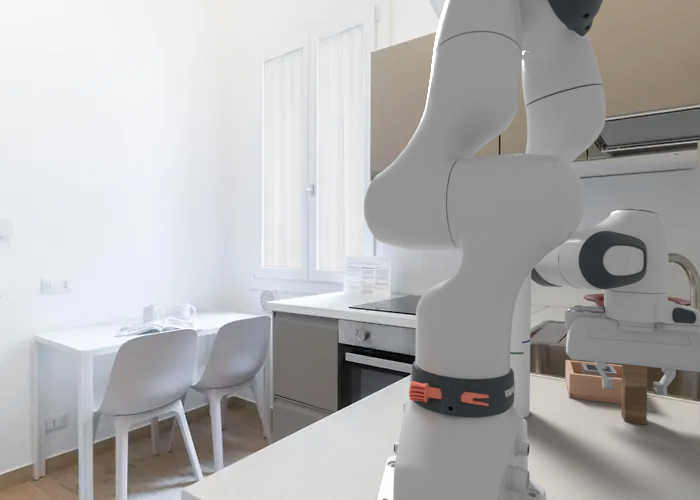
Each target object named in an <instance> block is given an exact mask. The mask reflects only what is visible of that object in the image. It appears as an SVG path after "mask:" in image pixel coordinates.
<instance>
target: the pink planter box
mask: <svg viewBox="0 0 700 500" xmlns="http://www.w3.org/2000/svg"><path fill="white" fill-rule="evenodd" d="M602 370H603V371H604V373H605V375H606V376H607V377H612V378H613V380H614V384H613V386H614V389H613V390H611V389H603V387H602V376H601V375H600V373H599V371H598V370H597V368H596V366H595V362H593V361H583V360H573V359H571V360H569V359H565V379H564V380H565V385H566V389H567V394H568V397H569V398H571V399H576V400H577V399H579V400H586V401H593V402H594V401H595V402H601V403H609V404H617V405H618V404H619V405H622V364H614V363H606V369H603V368H602Z"/></svg>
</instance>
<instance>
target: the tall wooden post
mask: <svg viewBox="0 0 700 500" xmlns="http://www.w3.org/2000/svg"><path fill="white" fill-rule="evenodd" d="M621 365H622V404H621V409H620V410H621V417H622V419H623V421H624V422H625V423H631V424H639V425H645V426H646V425H647V420H648V419H647V414H648V412H647V411H648V410H647V409H648V402H647V401H648V367H647V366H638V365H627V364H626V365H625V364H621Z"/></svg>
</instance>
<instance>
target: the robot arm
mask: <svg viewBox="0 0 700 500" xmlns="http://www.w3.org/2000/svg"><path fill="white" fill-rule="evenodd" d="M603 2H604V1H603V0H446V1H445V3H444V6H443V8H442V12H441V15H440V19H439V22H438V27H437V30H436V35H435V41H434V46H433V54H432V60H431V61H432V63H431V71H430V78H429V85H428V92H427V97H426V102H425V107H424V110H423V114H422V117H421V119H420V122H419V123H418V125H417V128H416V130H415V132H414V133H413V135H412V137H411V138H410V139H409V142H408V143H407V144H406V145H405V148H404V149H403V150H402V151H401V153H400V154H399V155H398V156H397V157H396V158H395V160H394V161H393V162H391V164H389V165H388V166H387V167H386V168H385V169H384V170H382V171H381V172H379V173H378V174H377V175H375V176H374V178H373V179H372V180H371V182H370V184H369V186H368V187H367V190H366V193H365V196H364V202H363V214H364V217H365V218H364V219H365V223H366V225H367V227H368V230H369V231H370V233H371V234H372V235H373V237H374V238H375V239H376V240H377V241H378V242H380V243H381V244H386V245H390V246H393V247H397V248H401V249H406V250H412V251H460V252H462V260H461V265H460V267H459V269H458V271H457V272H456V274H455V275H454V276H452V277H449V278H447V279H445V280H443V281H440V282H439V283H437V284H435V285H433V286H431V287H430V288H429V289H427V290H426V291H425V292H424V293H423V294H422V295H421V297H420V298H419V300H418V302H417V305H416V307H415V360H414V361H413V362H412V366H411V372H410V377H409V383H410V384H409V388H408V390H409V391H408V394H409V395H408V397H409V399H407V400H406V401H404V402H403V404H402V405H403V408H402V409H403V414H402V415H403V416H402V422H401V425H400V426H401V427H400V433H399V438H398V441H396V442H395V443H394V444H393V452H394V455H389V456H388V457H387V458H386V459H385V463H384V467H383V471H382V476H381V479H380V483H379V487H378V490H377V495H376V500H547V494H546V489H545V488H544V486H542V485H541V484H539V483H537V482H536V481H534V480H533V479H532V480H531V478H530V477H531V476H530V471H529V467H528V466H529V465H528V463H529V458H528V457H529V455H530V443H529V442H528V422H527V420H526V419H524V418H523V417H522V416H521V415H520V414H519V413H518V412H517V411H516V410H515V408H514V406H513V403H514V391H515V380H514V371H513V370H512V369H511V368H510V349H511V333H512V322H513V313H514V307H515V303H516V300H517V296H518V294H519V291H520V289H521V287H522V285H523V283H524V281H525V279H526V278H527V276H528V275H529V274H530V272H531V281H533V282H534V283H536V284H538V285H540V286H542V287H551V288H553V287H554V288H556V287H558V288H560V287H562V288H563V287H565V288H573V289H579V290H580V289H581V290H582V289H583V290H584V289H586V290H594V291H603V306H600V305H591V306H590V305H589V306H587V305H579V304H578V305H577V304H576V305H574V306H573V307H570V308H568V309H567V310H566V311H565V313H564V326H565V328H566V329H567V334H566V342H565V352H566V355H567V356H568V357H569V358H570V359H571V360H572V361H582V362H592V363H595V366H596V368H597V370H598V371H599V373H600V375H601V376H602V387H603V389H611V390H613V389H614V386H613V384H614V380H613V378H612V377H607V376H606V375H605V373H604V371H603V370H602V368H603V369H606V364H613V365H622V364H625V365H626V364H627V365H638V366H647V368H648V367H649V368H656V369H657V368H659V369H661V372H662V373H663V376H662V377H661V378H660V380H659V381H653V382H652V383H653V388H652V389H653V394H655V395H656V396H662V397H666V396H668V386H669V385H670V384H671V383H672V381H674V379H675V377H676V376H677V370H679V371H686V372H687V371H689V372H698V373H700V310H698V309H696V308H693V307H692V306H688V305H684V304H682V303H681V302H678V301H674V300H673V301H671V300H669V299H668V297H669V292H668V291H669V290H668V286H667V284H666V283H667V282H666V272H667V269H668V266H669V238H668V232H667V231H668V230H667V226H666V223H665V221H664V218H663V216H662V215H660V214H658V213H656V212H654V211H650V210H646V209H635V208H623V209H622V208H621V209H617V210H613V211H611V212H610V214H609V216H608V217H607V218H605V219H604V220H603V221H601V222H599V223H597V224H595V225H592V226H590V227H587V229H578V230H577V228H578V227H579V225H580V223H581V221H582V219H583V216H584V213H585V206H586V192H585V187H584V184H583V181H582V179H581V177H580V174H579V173H578V172H577V169H576V168H574V166H573V165H572V163H573V162H574V161H575V160H576V159H577V158H578V157H579V156H580V155H582V154H583V153H584V152H585V151H587V150H588V149H589V148H590V147H591V146H592V145H593V144H594V143H595V142H596V140H597V139H598V138H599V136H600V135H601V133H602V131H603V129H604V127H605V124H606V118H607V117H606V116H607V104H606V103H607V102H606V98H605V97H606V96H605V91H604V87H603V80H602V76H601V75H602V74H601V71H600V66H599V62H598V59H597V56H596V53H595V49H594V47H593V45H592V42H591V39H590V37H589V34H588V33H589V32H590V30H591V29H592V25H593V22H594V18H595V17H596V16H597V15H598V13H599V11H600V8H601V6H602V4H603ZM521 82H522V93H523V103H524V109H525V113H526V125H527V132H526V133H527V137H526V147H525V150H524V152H515V153H505V154H497V155H488V156H486V155H485V156H479V157H474V156H475V154H476V153H477V152H478V151H479V150H480V149H481V148H483V147H484V146H485V145H486V144H489V142H491V141H493V140H494V139H496V138H498V137H499V136H500V135H502V134H503V133H505V132H506V130H507V129H508V128H509V126H510V125H511V124H512V122H513V121H514V119H515V117H516V115H517V113H518V110H519V107H520V93H521V91H520V90H521Z"/></svg>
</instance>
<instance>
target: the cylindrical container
mask: <svg viewBox="0 0 700 500" xmlns="http://www.w3.org/2000/svg"><path fill="white" fill-rule="evenodd" d="M531 299H532V279H531V272H530V274H529V275H528V276H527V278H526V279H525V281H524V283H523V285H522V287H521V289H520V291H519V294H518V296H517V300H516V303H515V307H514V313H513V322H512V333H511V349H510V368H511V369H512V370H513V371H514V380H515V391H514V403H513V406H514V408H515V410H516V411H517V412H518V413H519V414H520V415H521V416H522V417H523V419H524V418H527V417H528V416H529V415H530V411H531V410H530V408H531V407H530V403H531V400H530V399H531V395H530V394H531V393H530V392H531V391H530V390H531V324H532V323H531V322H532V321H531V319H532V318H531V315H532V314H531V313H532V310H531V309H532V301H531Z"/></svg>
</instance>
